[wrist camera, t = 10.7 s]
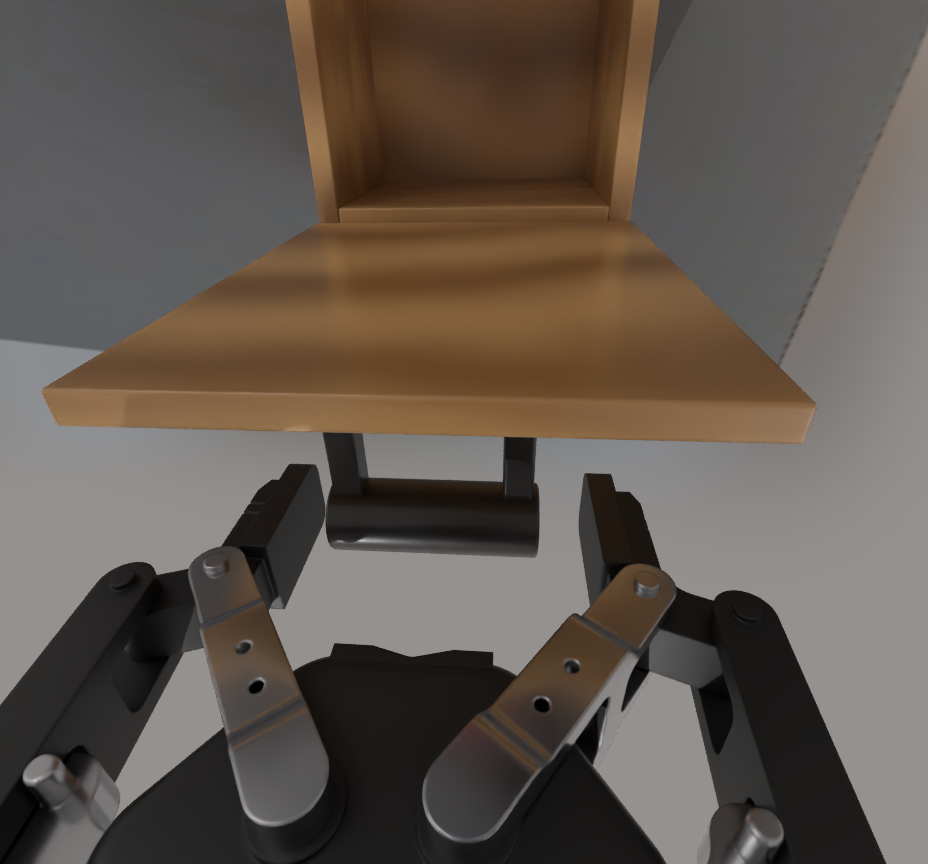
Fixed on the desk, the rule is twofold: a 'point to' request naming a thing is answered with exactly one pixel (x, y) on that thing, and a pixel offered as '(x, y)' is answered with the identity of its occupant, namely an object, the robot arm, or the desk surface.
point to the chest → (473, 107)
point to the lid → (446, 365)
